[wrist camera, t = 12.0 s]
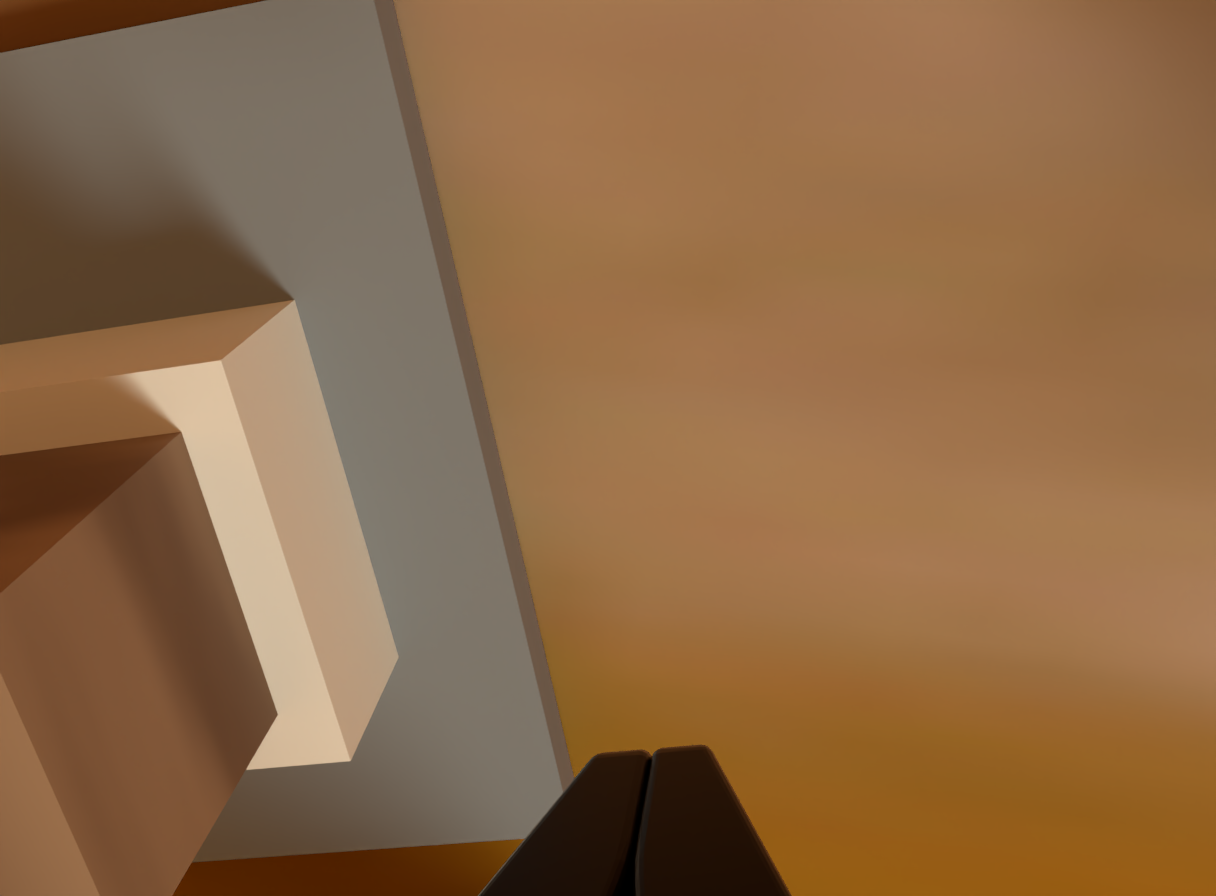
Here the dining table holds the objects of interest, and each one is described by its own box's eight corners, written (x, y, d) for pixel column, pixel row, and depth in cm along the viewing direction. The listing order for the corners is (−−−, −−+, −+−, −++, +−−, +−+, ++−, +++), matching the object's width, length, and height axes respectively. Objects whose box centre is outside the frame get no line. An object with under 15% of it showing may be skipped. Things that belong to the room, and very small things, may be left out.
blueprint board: (387, -22, 18) (298, -14, 14) (579, 800, 24) (552, 956, 20) (-282, 109, 20) (-515, 148, 16) (54, 840, 26) (-57, 989, 22)
